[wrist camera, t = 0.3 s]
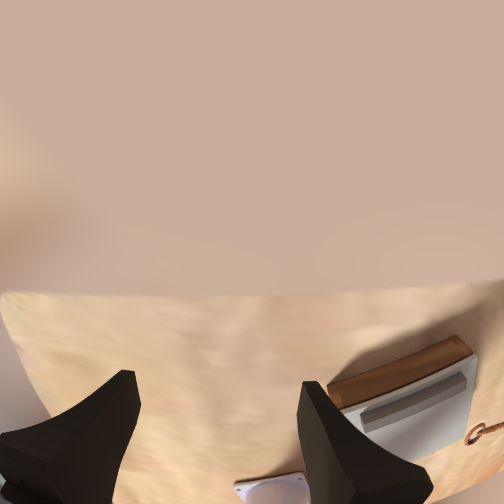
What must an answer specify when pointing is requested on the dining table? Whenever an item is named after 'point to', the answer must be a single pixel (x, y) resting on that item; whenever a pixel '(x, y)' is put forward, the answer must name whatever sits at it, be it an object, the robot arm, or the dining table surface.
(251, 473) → the dining table surface
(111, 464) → the robot arm
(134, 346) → the dining table surface
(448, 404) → the lid
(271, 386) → the dining table surface
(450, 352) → the box
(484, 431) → the key
